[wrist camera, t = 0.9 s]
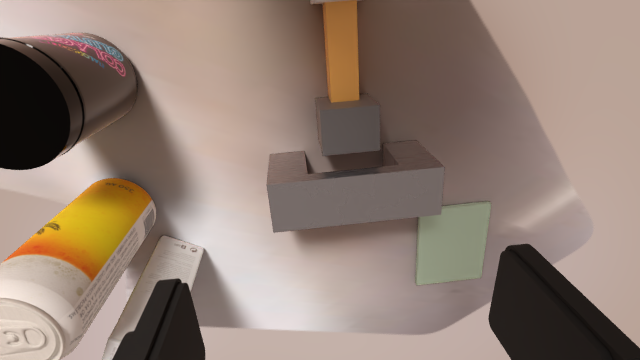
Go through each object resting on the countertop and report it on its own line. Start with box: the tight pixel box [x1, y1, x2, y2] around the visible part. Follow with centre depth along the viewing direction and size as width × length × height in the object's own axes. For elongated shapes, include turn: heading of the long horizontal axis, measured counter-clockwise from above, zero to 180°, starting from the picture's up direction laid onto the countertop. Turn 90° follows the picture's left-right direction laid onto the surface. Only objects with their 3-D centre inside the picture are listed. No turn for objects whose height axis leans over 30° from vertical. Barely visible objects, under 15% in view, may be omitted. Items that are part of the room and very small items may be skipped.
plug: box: [310, 0, 380, 156], centre depth 27 cm, size 14×4×5 cm, turn 4°
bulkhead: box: [267, 140, 445, 233], centre depth 30 cm, size 4×13×6 cm, turn 94°
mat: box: [415, 201, 491, 285], centre depth 37 cm, size 9×7×1 cm
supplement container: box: [0, 33, 137, 170], centre depth 24 cm, size 7×7×10 cm
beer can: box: [0, 178, 156, 360], centre depth 26 cm, size 6×6×15 cm
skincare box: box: [102, 235, 204, 360], centre depth 30 cm, size 6×4×12 cm
